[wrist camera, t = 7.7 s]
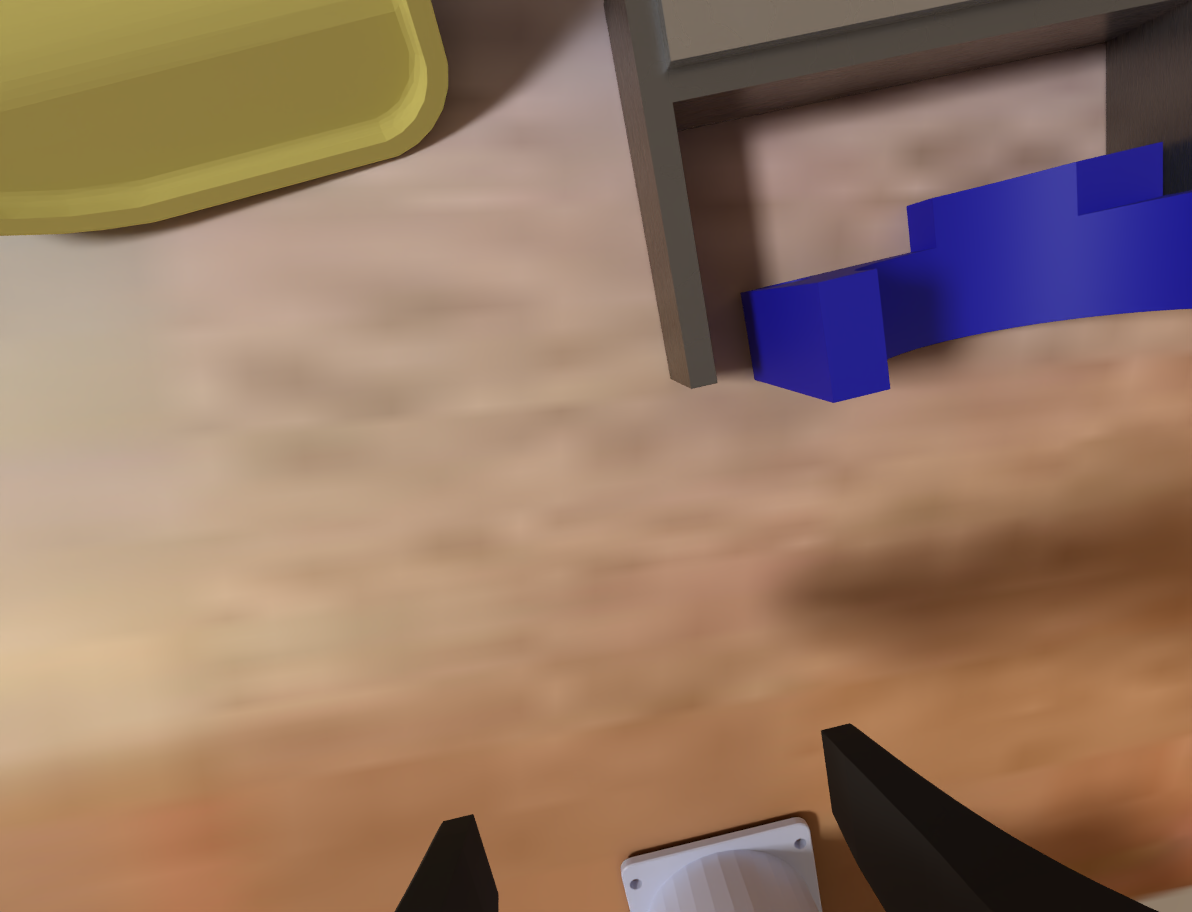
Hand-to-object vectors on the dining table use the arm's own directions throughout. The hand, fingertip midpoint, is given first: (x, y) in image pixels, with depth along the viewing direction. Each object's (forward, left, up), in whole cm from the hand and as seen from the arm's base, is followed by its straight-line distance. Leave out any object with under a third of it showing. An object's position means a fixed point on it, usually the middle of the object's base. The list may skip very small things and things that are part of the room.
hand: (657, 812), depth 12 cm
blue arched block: (+9, -13, -11) cm, 19 cm away
